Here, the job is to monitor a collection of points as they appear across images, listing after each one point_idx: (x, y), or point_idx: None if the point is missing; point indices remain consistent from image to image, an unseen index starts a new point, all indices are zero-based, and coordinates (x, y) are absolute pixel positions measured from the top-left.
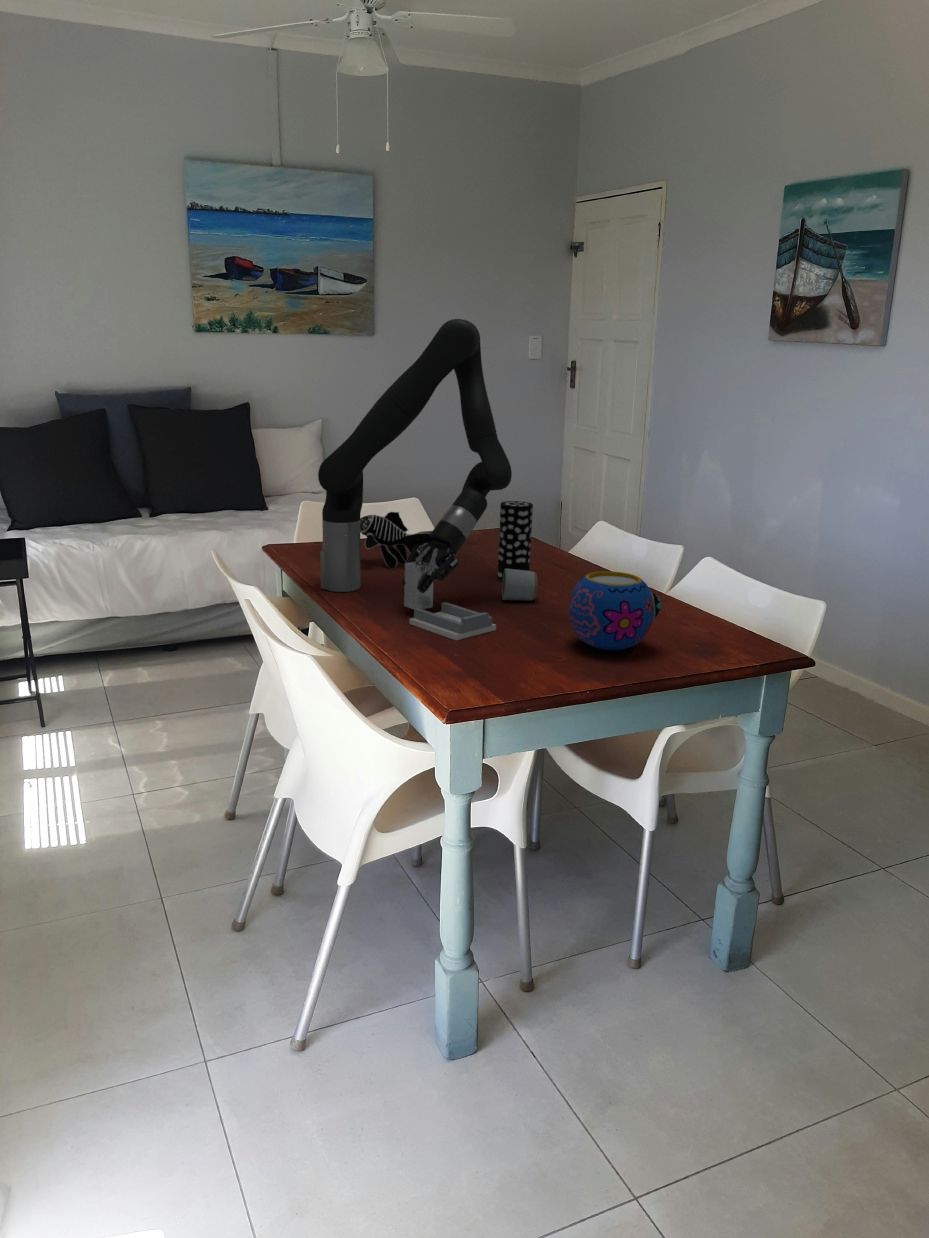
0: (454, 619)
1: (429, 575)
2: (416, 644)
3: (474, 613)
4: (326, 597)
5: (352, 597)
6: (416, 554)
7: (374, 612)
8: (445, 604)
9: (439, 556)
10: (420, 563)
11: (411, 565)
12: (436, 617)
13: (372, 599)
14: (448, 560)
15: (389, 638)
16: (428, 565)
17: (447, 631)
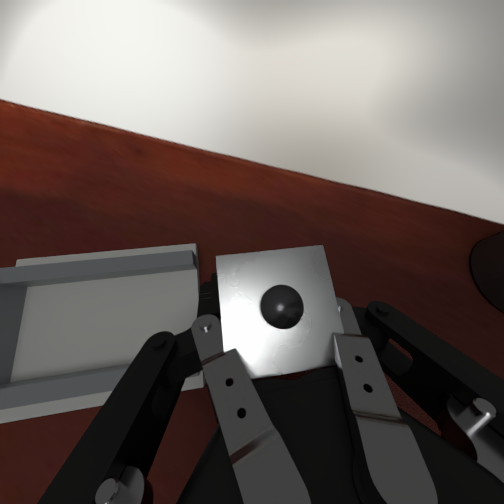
0: (118, 338)
1: (200, 319)
2: (79, 185)
3: (32, 384)
4: (440, 213)
5: (428, 255)
6: (449, 392)
7: (308, 234)
8: None
9: (216, 475)
10: (261, 298)
11: (273, 250)
12: (98, 259)
13: (402, 284)
14: (73, 484)
15: (145, 167)
16: (226, 336)
17: (54, 258)
